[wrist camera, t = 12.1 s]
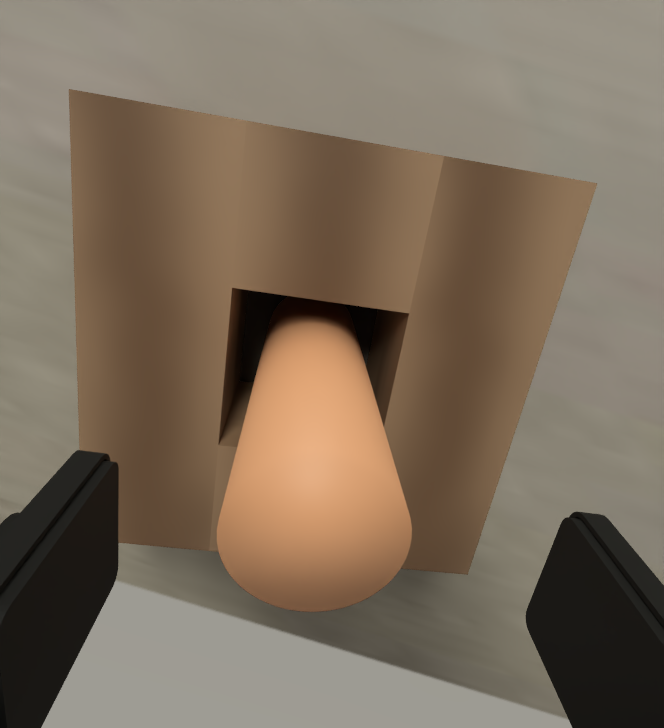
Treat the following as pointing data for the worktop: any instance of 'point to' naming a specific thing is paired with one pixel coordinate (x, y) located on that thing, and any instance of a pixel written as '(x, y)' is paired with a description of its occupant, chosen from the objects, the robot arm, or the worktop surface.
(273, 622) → the worktop surface
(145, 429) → the socket block
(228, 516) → the peg
